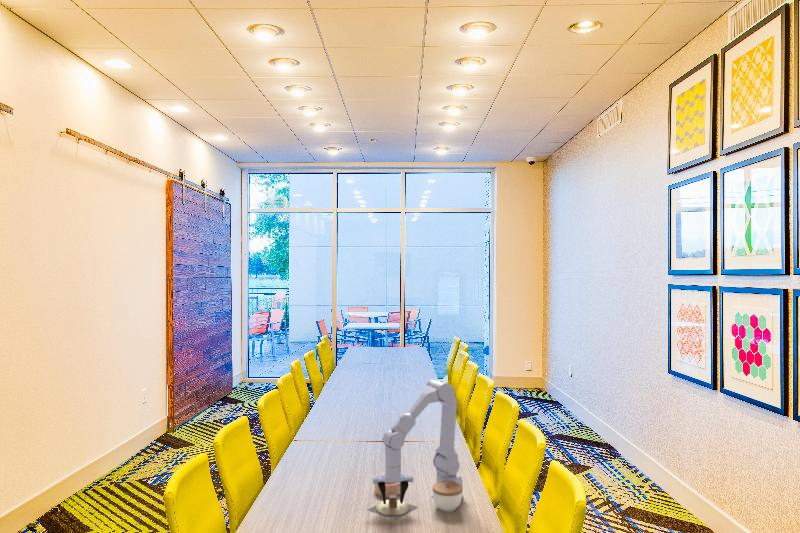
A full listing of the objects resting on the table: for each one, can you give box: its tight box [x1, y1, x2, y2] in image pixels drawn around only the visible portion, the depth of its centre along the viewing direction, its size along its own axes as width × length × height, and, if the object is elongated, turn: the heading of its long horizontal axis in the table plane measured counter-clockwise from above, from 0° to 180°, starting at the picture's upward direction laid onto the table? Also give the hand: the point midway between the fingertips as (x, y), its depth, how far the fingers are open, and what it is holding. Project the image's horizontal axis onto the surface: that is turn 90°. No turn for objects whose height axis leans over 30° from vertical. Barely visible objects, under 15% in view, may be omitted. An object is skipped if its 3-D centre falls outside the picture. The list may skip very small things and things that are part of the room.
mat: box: [367, 498, 419, 521], centre depth 199 cm, size 13×13×1 cm
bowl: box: [374, 482, 400, 498], centre depth 215 cm, size 10×10×4 cm
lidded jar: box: [432, 481, 464, 513], centre depth 200 cm, size 11×11×9 cm
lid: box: [376, 495, 411, 516], centre depth 199 cm, size 12×12×4 cm
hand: (392, 502), depth 199 cm, fingers open, 5 cm apart
